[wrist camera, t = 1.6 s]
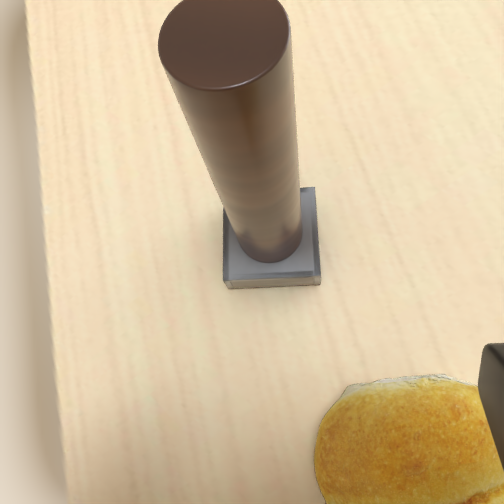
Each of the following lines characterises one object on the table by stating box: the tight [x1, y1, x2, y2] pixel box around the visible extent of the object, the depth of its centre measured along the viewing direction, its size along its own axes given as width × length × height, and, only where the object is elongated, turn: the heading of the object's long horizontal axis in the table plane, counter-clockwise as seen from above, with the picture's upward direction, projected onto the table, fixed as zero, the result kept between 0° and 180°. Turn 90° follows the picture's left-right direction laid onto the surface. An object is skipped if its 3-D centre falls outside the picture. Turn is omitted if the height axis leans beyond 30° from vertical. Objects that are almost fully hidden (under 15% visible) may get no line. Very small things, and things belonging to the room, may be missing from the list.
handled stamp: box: [158, 0, 321, 289], centre depth 17 cm, size 4×4×14 cm
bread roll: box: [314, 374, 504, 504], centre depth 17 cm, size 8×9×4 cm
